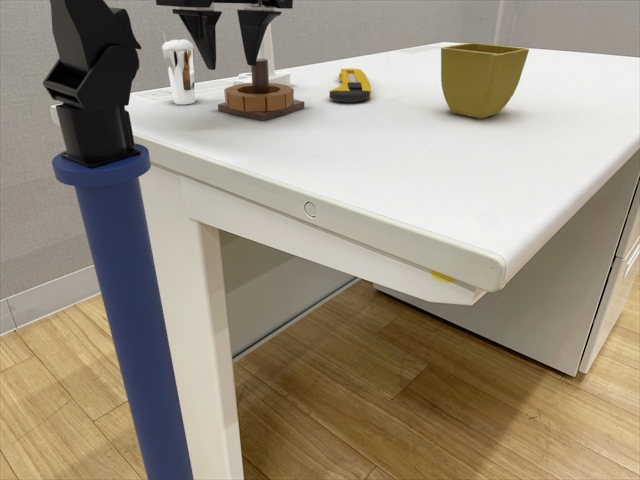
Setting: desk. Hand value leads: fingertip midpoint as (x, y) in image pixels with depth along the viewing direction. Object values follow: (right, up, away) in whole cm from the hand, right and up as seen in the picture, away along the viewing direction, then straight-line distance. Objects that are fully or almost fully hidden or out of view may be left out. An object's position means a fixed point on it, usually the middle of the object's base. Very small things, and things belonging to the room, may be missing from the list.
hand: (232, 67), depth 67 cm
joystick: (+1, +3, +19) cm, 19 cm away
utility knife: (+17, +3, +20) cm, 26 cm away
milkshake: (-10, -2, +11) cm, 15 cm away
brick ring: (+3, -3, +6) cm, 7 cm away
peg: (+3, -4, +7) cm, 8 cm away
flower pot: (+34, -5, +5) cm, 35 cm away
